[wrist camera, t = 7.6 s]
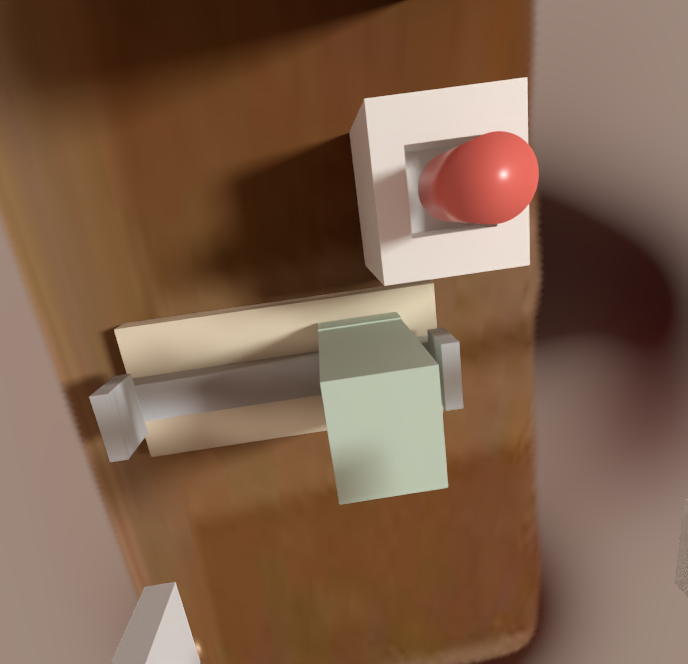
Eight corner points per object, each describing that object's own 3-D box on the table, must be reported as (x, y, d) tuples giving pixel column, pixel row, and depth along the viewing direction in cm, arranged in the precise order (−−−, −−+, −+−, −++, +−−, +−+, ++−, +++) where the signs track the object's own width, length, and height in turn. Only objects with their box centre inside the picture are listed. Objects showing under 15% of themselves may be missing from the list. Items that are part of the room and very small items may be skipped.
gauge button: (415, 156, 19) (449, 137, 14) (481, 147, 19) (538, 125, 14) (420, 225, 20) (454, 230, 15) (484, 216, 20) (539, 218, 15)
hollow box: (349, 132, 26) (364, 98, 18) (464, 117, 26) (527, 77, 18) (365, 265, 28) (384, 285, 20) (470, 250, 28) (529, 265, 20)
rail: (124, 323, 28) (74, 352, 22) (427, 279, 28) (456, 296, 23) (158, 445, 30) (122, 500, 25) (437, 403, 31) (465, 446, 25)
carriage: (317, 323, 27) (319, 380, 18) (396, 311, 27) (438, 362, 18) (331, 412, 29) (339, 506, 19) (405, 401, 29) (448, 489, 20)
